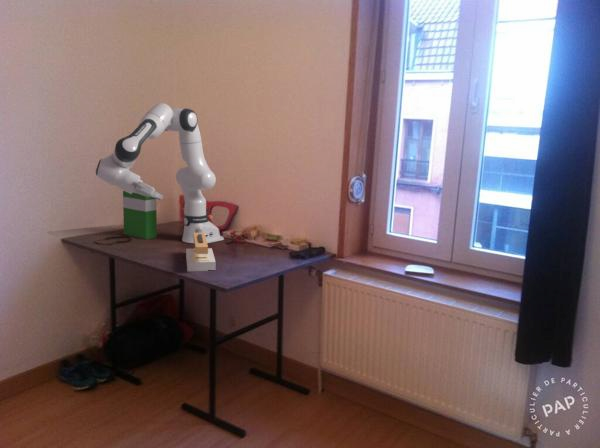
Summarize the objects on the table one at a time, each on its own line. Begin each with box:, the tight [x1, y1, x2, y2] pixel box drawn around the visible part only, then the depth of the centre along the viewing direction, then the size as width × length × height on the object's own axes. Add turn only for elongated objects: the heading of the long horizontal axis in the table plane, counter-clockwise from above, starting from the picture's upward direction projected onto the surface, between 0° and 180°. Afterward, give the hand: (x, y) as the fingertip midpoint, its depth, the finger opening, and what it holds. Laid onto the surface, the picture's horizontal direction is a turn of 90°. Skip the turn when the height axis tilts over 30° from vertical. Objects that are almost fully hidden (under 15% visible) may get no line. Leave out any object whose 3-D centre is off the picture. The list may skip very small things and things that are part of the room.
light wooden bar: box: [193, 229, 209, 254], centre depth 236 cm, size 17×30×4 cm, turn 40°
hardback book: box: [122, 190, 158, 240], centre depth 284 cm, size 18×7×24 cm, turn 58°
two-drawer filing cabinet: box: [185, 247, 217, 272], centre depth 239 cm, size 29×12×8 cm, turn 14°
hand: (161, 198), depth 232 cm, fingers open, 8 cm apart
